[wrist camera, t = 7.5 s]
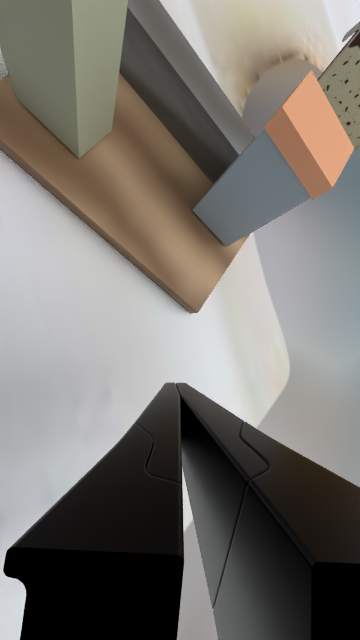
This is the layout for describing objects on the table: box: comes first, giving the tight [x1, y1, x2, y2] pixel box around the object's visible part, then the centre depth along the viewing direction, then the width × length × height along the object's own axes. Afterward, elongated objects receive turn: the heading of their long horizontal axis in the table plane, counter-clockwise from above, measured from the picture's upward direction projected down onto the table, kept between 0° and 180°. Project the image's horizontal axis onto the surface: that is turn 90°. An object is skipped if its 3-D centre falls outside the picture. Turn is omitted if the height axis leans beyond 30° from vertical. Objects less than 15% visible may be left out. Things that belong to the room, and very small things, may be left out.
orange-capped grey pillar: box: [193, 70, 354, 247], centre depth 17 cm, size 4×5×10 cm
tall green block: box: [0, 0, 128, 158], centre depth 11 cm, size 4×5×10 cm
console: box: [0, 0, 255, 313], centre depth 18 cm, size 15×22×6 cm
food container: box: [317, 22, 360, 152], centre depth 26 cm, size 12×6×10 cm, turn 66°
